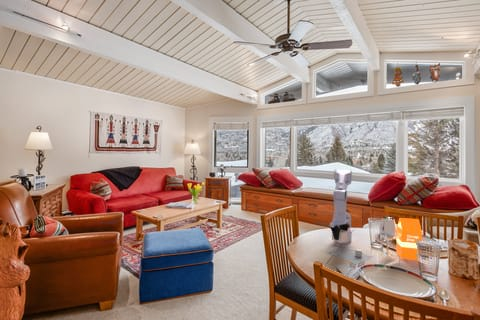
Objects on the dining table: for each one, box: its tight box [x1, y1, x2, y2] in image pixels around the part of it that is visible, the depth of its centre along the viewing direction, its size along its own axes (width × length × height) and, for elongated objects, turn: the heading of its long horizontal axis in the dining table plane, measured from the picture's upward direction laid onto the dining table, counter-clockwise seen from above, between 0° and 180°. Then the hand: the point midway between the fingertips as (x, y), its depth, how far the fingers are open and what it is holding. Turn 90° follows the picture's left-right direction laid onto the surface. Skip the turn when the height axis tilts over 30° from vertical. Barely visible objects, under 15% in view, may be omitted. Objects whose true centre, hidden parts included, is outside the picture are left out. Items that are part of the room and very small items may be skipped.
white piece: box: [331, 230, 347, 244], centre depth 125 cm, size 5×5×5 cm
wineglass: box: [378, 216, 397, 258], centre depth 124 cm, size 8×8×20 cm
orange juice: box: [396, 217, 423, 261], centre depth 124 cm, size 8×9×20 cm
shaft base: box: [325, 246, 374, 265], centre depth 123 cm, size 16×16×4 cm
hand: (339, 238), depth 125 cm, fingers closed on white piece, 5 cm apart
